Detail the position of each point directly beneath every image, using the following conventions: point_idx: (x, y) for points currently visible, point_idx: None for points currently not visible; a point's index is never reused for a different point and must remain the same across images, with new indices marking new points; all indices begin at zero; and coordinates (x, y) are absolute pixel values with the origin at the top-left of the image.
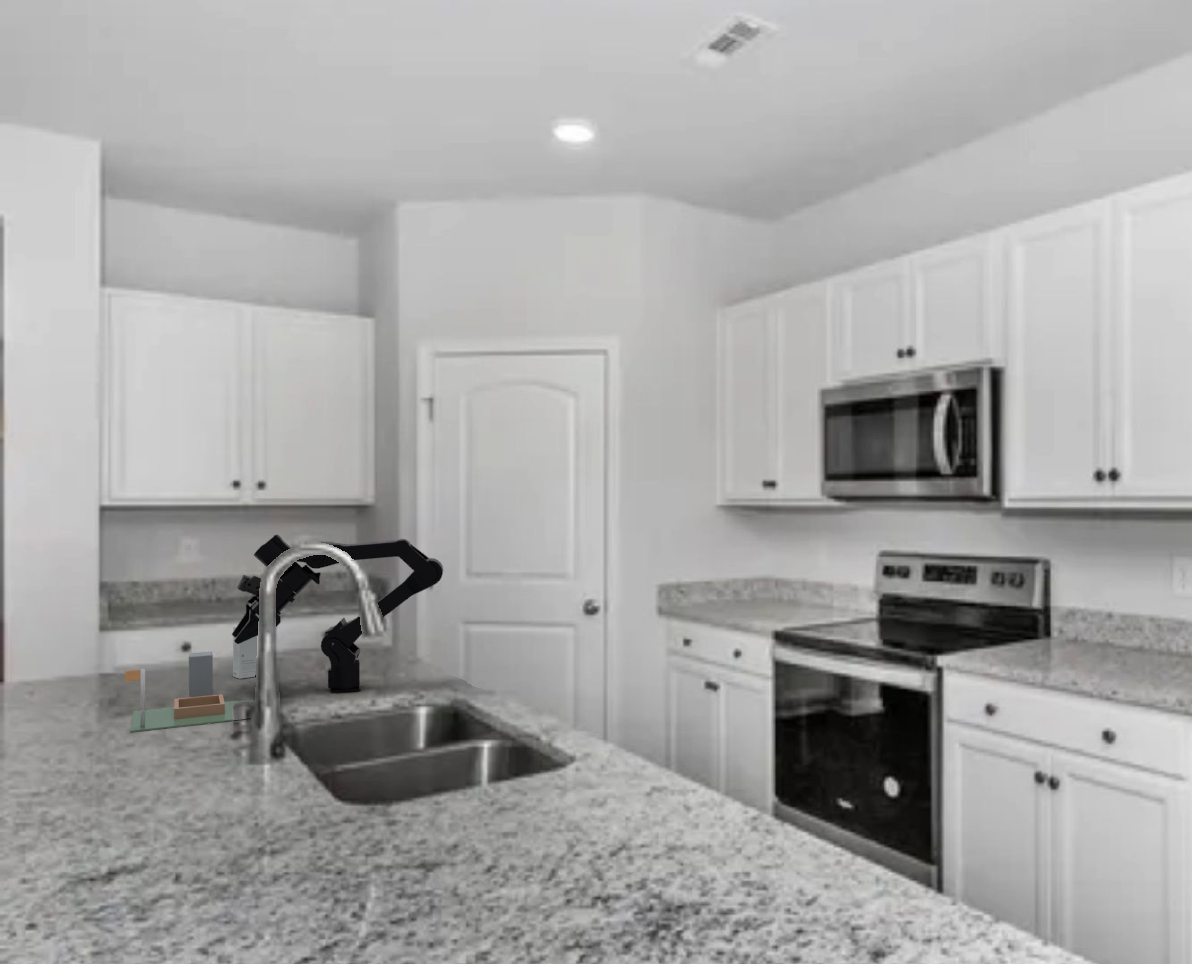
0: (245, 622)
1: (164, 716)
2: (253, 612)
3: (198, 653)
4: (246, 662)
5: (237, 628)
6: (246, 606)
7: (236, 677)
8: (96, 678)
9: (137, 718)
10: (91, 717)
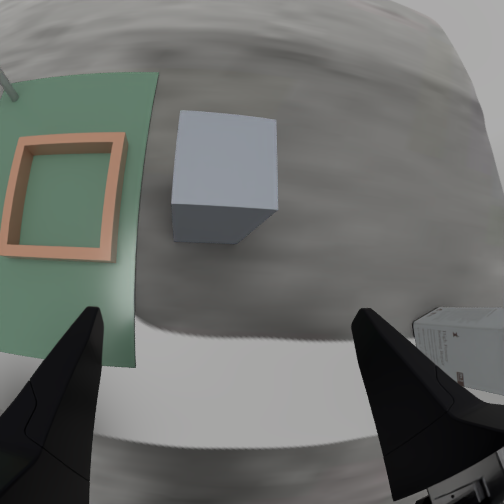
0: (406, 398)
1: (64, 126)
2: (447, 464)
3: (252, 151)
4: (441, 342)
5: (381, 343)
6: (496, 432)
7: (425, 315)
8: (462, 91)
9: (84, 81)
10: (167, 22)
